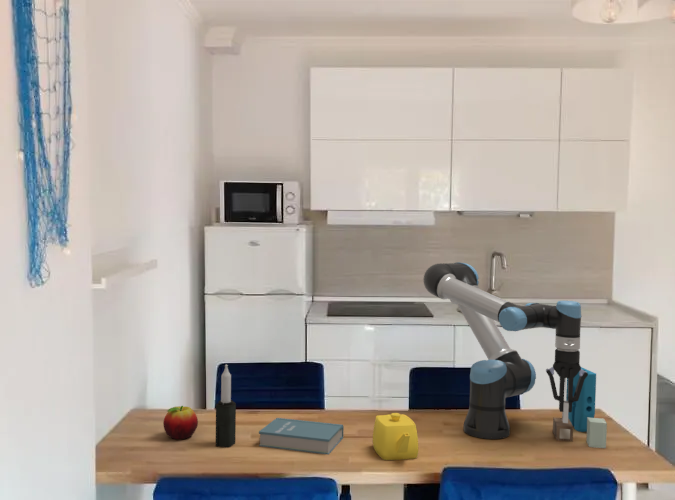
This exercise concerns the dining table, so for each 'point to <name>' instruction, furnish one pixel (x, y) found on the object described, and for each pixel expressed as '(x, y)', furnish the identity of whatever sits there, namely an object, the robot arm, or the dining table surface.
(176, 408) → the fruit
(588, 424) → the sage pillar
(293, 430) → the book
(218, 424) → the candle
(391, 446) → the teapot
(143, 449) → the dining table surface
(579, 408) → the block
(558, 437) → the walnut pillar
